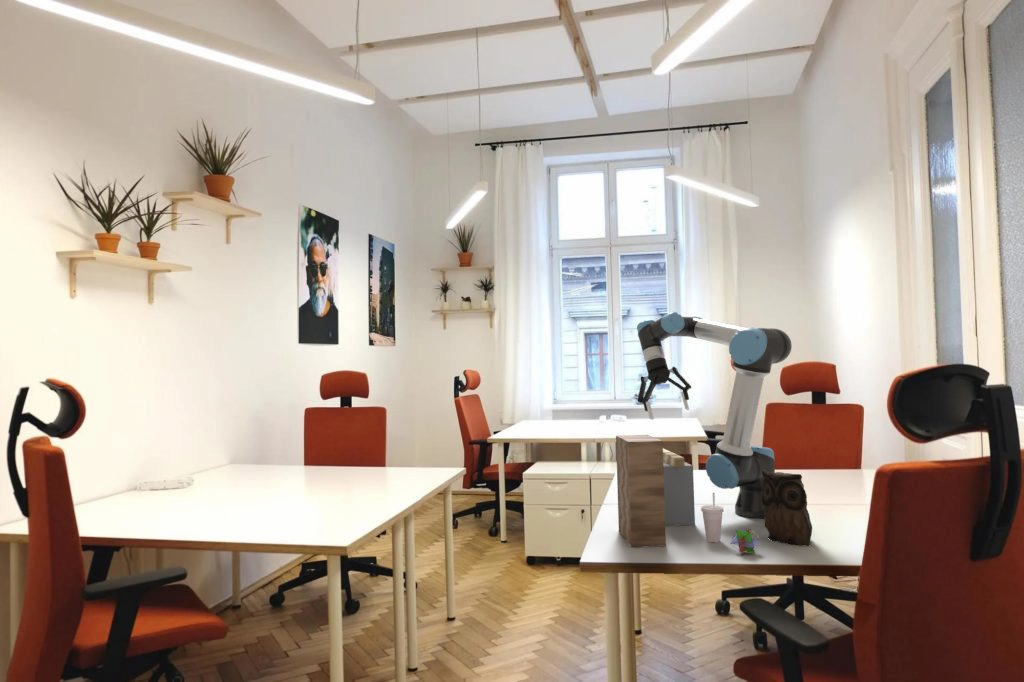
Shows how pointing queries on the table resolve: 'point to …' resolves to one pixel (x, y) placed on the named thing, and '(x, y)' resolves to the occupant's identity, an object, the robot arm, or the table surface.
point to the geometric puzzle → (746, 540)
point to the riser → (679, 495)
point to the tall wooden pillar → (641, 490)
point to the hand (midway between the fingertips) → (669, 414)
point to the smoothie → (712, 521)
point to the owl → (786, 508)
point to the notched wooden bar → (673, 459)
